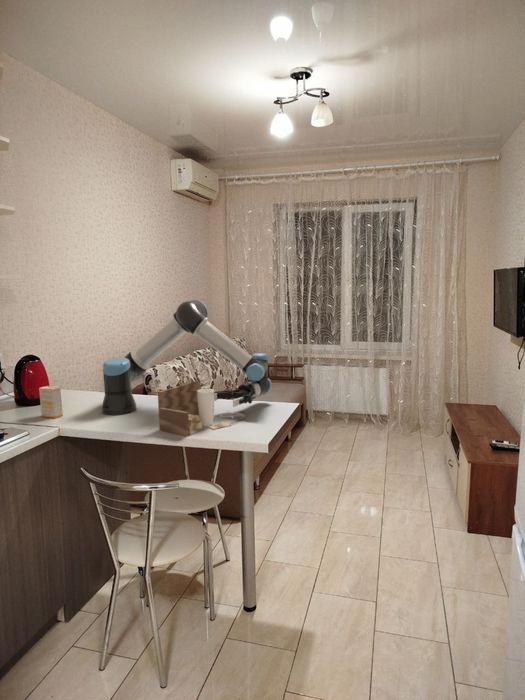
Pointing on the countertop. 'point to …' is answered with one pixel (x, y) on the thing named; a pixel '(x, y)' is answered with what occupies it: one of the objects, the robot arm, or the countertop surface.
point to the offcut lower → (195, 428)
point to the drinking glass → (206, 406)
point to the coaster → (233, 416)
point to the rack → (178, 408)
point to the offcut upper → (193, 419)
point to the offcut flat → (219, 426)
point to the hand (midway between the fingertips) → (220, 401)
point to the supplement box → (51, 401)
